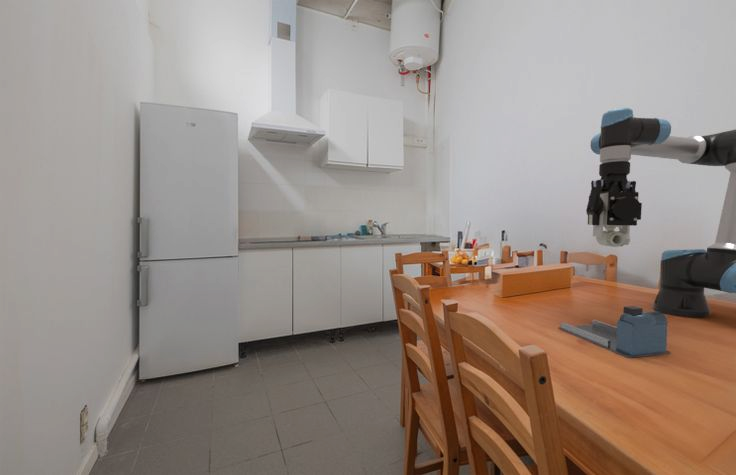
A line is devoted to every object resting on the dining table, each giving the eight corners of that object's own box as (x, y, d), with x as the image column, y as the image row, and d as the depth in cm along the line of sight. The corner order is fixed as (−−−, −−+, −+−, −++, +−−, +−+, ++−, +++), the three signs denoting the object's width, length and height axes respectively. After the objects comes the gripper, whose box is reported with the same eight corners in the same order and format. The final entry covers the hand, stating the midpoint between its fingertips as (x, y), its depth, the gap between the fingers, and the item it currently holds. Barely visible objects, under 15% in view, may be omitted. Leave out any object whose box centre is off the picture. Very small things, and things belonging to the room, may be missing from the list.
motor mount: (592, 325, 107) (593, 288, 106) (670, 353, 84) (672, 307, 84) (558, 328, 104) (558, 291, 104) (628, 358, 82) (630, 310, 81)
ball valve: (645, 249, 92) (649, 185, 91) (611, 248, 93) (614, 185, 92) (612, 244, 109) (615, 190, 108) (583, 243, 111) (586, 191, 110)
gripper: (632, 165, 105) (628, 235, 107) (573, 163, 102) (570, 235, 103) (656, 161, 98) (652, 236, 99) (594, 158, 94) (591, 237, 95)
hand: (611, 236), depth 101 cm, fingers closed on ball valve, 9 cm apart
